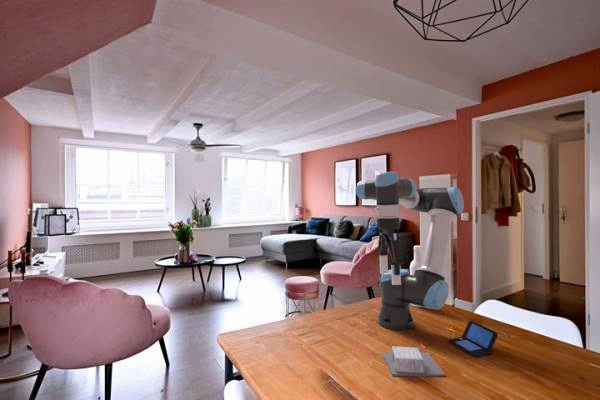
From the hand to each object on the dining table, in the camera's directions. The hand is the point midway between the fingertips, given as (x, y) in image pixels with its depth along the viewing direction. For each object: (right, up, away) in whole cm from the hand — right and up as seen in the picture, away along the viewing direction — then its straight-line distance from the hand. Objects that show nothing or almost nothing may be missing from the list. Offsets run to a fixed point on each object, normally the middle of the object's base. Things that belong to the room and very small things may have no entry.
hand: (389, 278), depth 105 cm
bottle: (+30, -27, +51) cm, 65 cm away
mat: (+6, -27, -5) cm, 28 cm away
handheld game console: (+32, -27, +6) cm, 42 cm away
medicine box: (-1, -24, -6) cm, 25 cm away
